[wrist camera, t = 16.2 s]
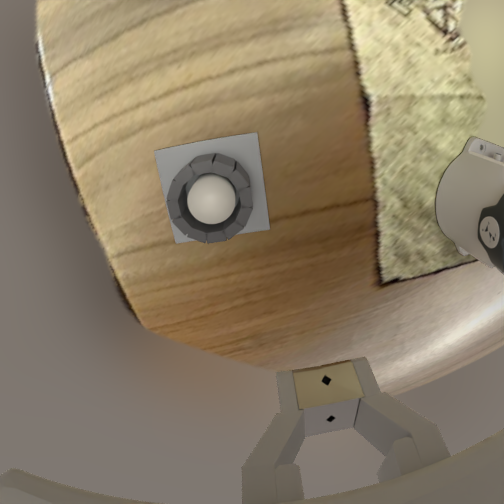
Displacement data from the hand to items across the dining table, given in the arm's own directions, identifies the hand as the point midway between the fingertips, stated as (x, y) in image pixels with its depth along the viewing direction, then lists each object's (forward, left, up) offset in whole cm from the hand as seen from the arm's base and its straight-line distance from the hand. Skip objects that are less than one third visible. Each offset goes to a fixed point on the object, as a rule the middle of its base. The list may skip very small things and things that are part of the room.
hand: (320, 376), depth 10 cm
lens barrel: (+6, +1, -29) cm, 30 cm away
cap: (+6, +1, -29) cm, 29 cm away
